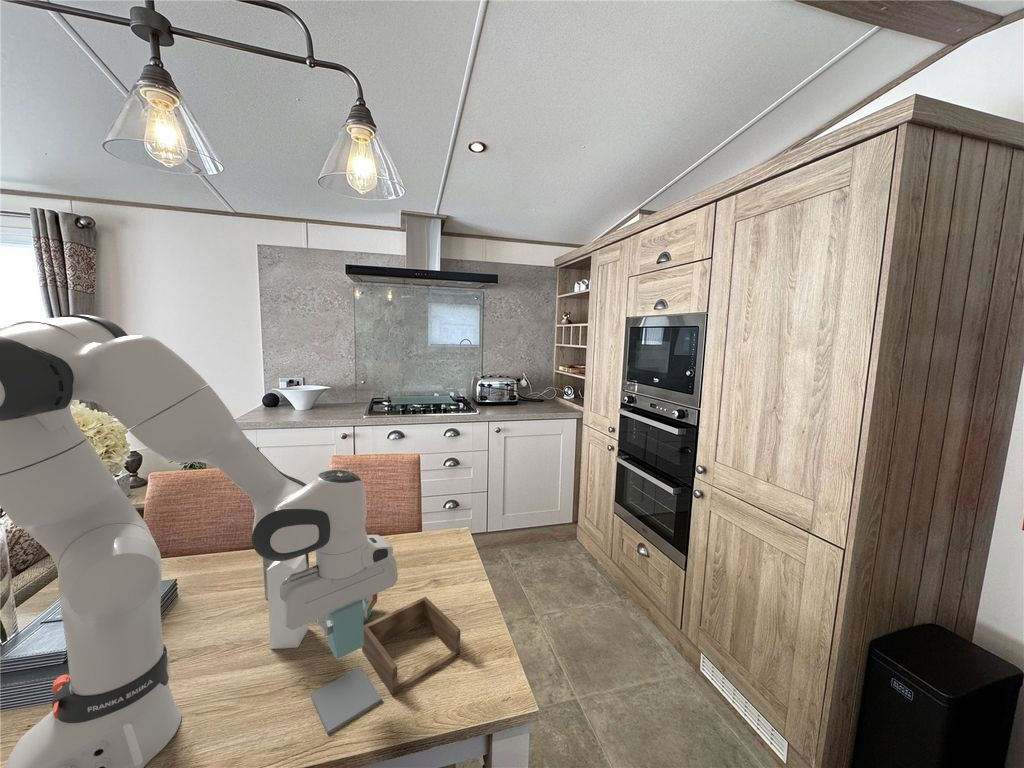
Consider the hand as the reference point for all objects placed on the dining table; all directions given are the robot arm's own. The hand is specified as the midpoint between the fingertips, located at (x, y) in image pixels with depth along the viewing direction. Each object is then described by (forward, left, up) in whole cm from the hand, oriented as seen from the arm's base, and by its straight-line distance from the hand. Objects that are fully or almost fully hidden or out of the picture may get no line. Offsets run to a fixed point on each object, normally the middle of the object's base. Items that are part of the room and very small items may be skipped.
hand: (345, 624), depth 76 cm
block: (0, 0, -4) cm, 4 cm away
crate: (+15, +2, -16) cm, 22 cm away
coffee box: (0, +43, -16) cm, 46 cm away
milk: (-4, +24, -16) cm, 29 cm away
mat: (0, 0, -16) cm, 16 cm away
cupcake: (+11, +21, -16) cm, 28 cm away
